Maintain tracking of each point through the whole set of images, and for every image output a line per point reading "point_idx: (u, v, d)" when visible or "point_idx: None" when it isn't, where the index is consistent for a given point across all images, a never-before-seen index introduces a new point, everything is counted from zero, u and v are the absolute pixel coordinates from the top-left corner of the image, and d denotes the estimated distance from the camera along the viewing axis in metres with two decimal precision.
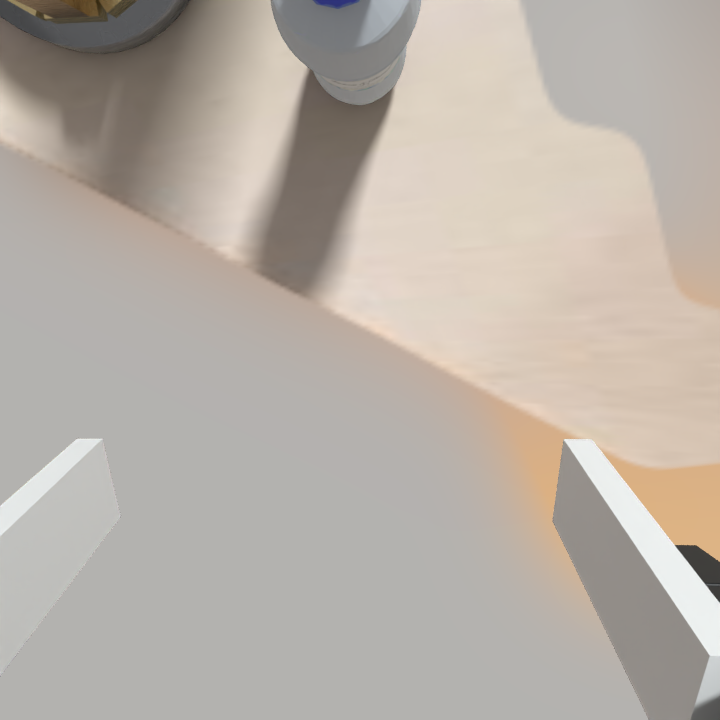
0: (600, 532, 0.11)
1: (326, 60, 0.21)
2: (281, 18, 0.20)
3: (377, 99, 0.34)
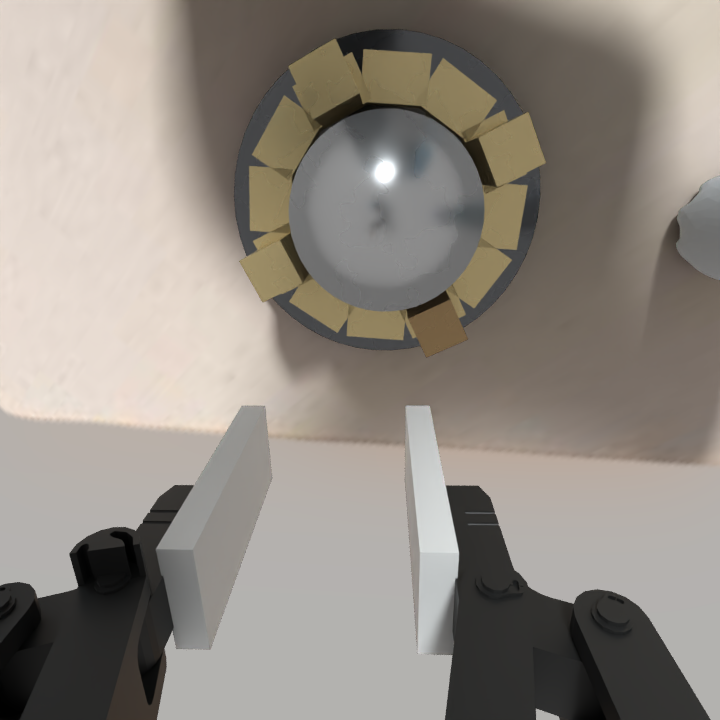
0: (409, 478, 0.13)
1: None
2: None
3: None
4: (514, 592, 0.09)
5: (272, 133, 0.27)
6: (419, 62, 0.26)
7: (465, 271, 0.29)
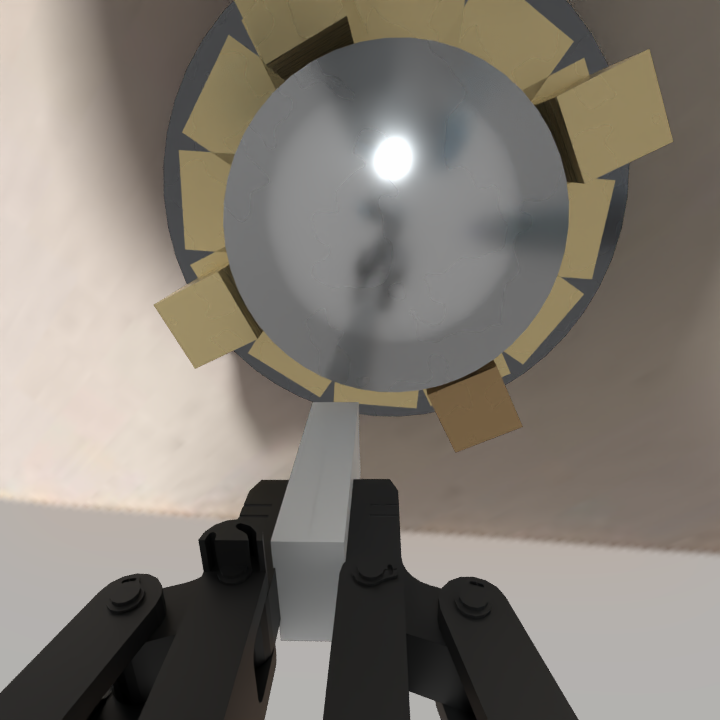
0: None
1: None
2: None
3: None
4: (388, 576, 0.09)
5: (212, 98, 0.17)
6: None
7: None
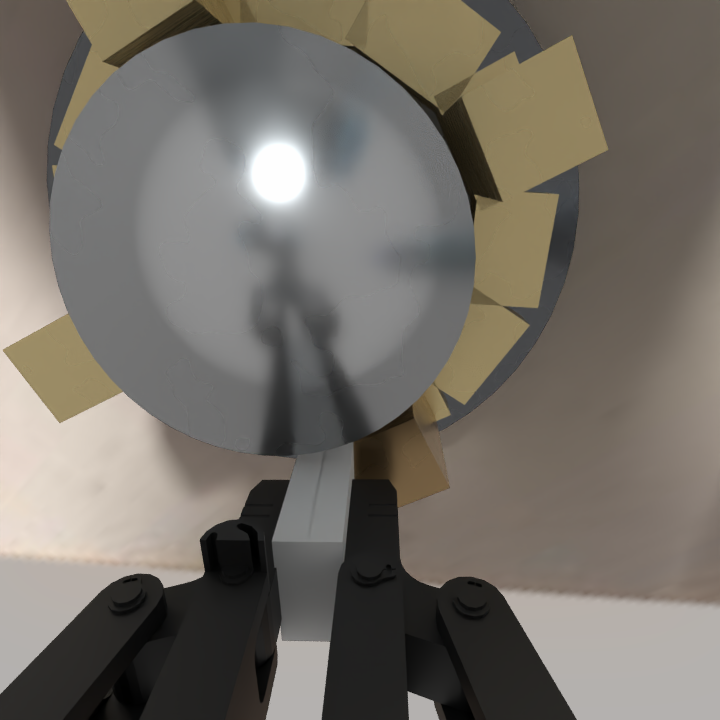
0: None
1: None
2: None
3: None
4: (387, 576, 0.09)
5: (85, 104, 0.15)
6: None
7: None
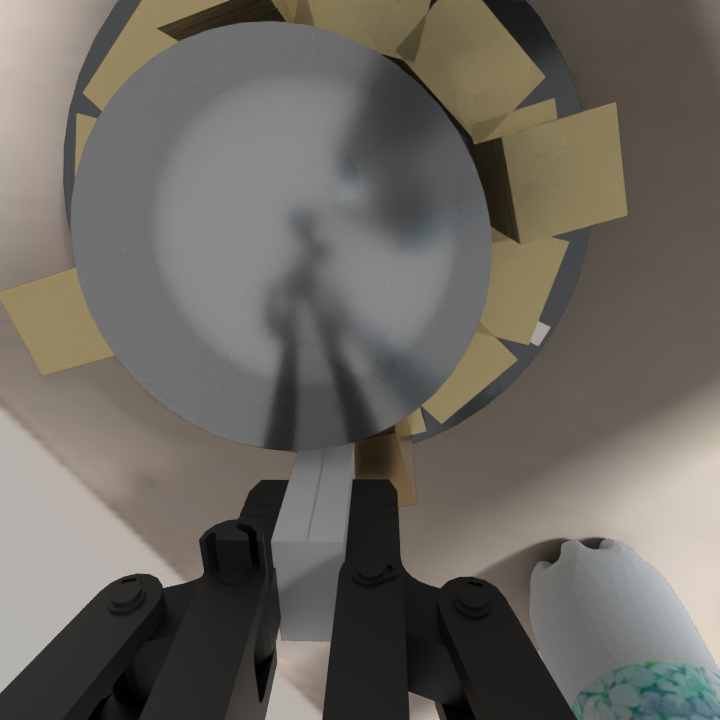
0: None
1: None
2: None
3: None
4: (388, 576, 0.09)
5: (122, 60, 0.14)
6: None
7: None
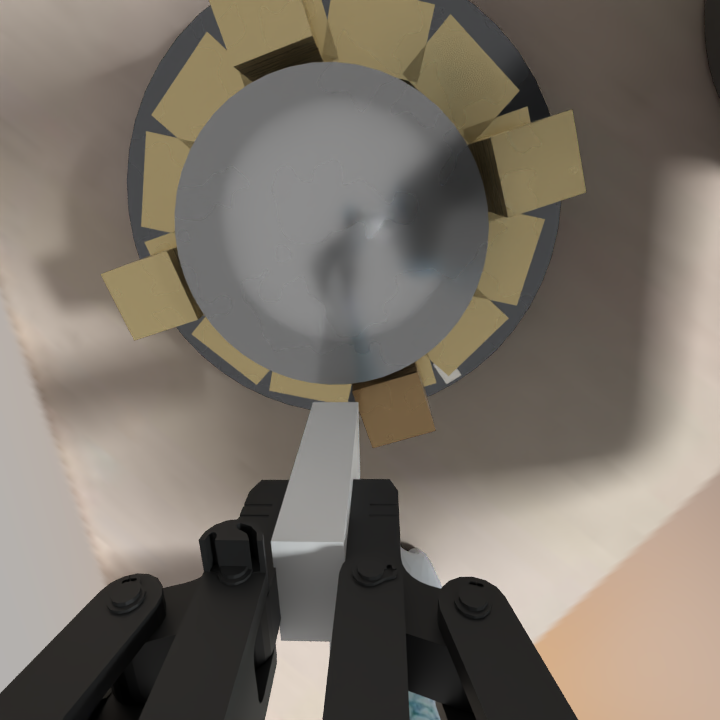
0: None
1: None
2: None
3: None
4: (388, 576, 0.09)
5: (184, 87, 0.18)
6: (415, 14, 0.17)
7: None
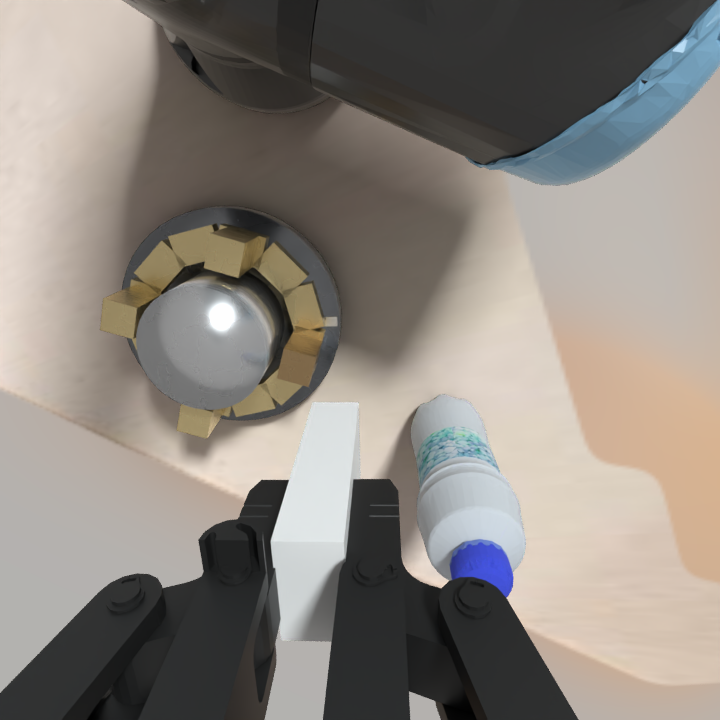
0: None
1: None
2: (434, 567, 0.31)
3: None
4: (388, 576, 0.09)
5: None
6: (161, 250, 0.38)
7: (296, 313, 0.39)
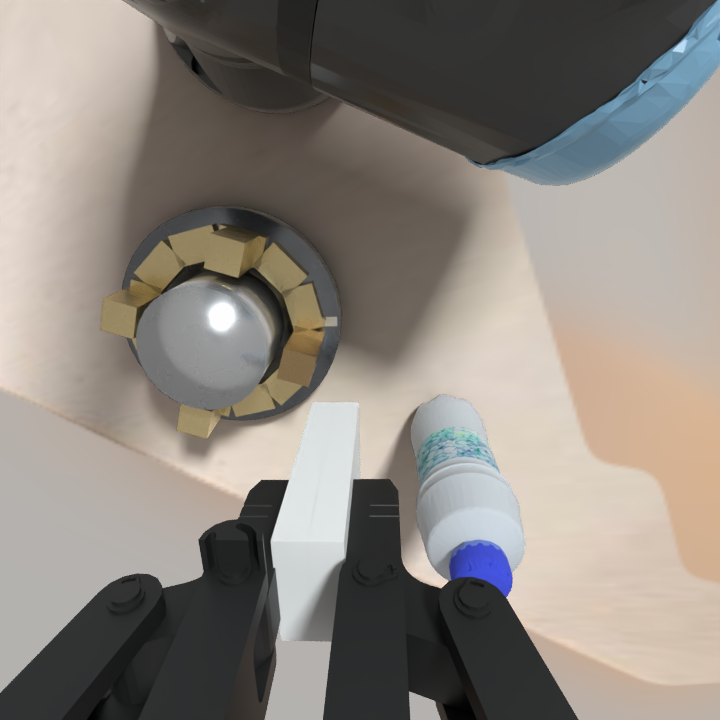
0: None
1: None
2: (433, 567, 0.31)
3: None
4: (388, 576, 0.09)
5: None
6: (161, 250, 0.38)
7: (296, 313, 0.39)
